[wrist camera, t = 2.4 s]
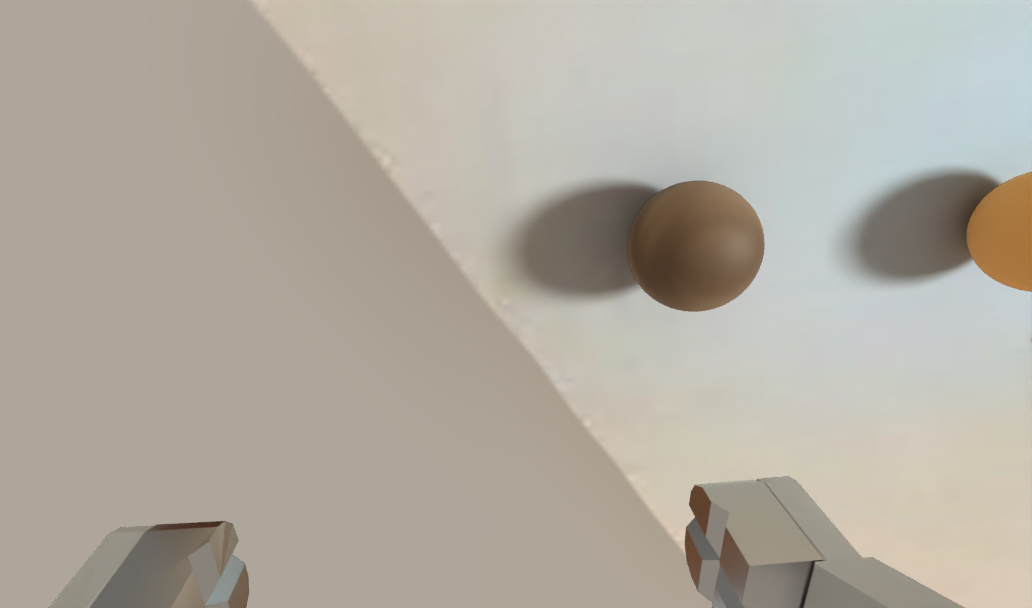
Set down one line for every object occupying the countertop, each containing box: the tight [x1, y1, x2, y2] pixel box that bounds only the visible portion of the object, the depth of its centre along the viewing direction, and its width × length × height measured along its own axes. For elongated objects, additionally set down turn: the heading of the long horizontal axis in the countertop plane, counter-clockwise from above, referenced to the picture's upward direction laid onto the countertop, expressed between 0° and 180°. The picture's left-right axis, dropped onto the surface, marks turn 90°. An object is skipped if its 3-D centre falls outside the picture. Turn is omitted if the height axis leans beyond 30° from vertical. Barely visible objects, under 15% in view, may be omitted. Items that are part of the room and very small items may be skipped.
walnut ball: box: [627, 181, 764, 312], centre depth 22 cm, size 5×5×5 cm
